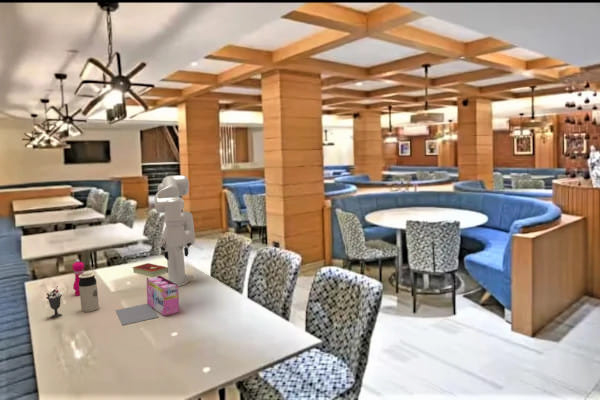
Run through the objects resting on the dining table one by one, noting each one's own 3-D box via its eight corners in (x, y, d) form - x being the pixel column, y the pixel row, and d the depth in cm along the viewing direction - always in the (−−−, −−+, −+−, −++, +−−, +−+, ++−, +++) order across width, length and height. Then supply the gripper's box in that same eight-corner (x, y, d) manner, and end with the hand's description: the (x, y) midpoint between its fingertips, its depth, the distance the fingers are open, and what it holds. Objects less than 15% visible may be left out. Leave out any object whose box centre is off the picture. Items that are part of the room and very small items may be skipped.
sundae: (67, 314, 216) (64, 284, 214) (56, 319, 210) (52, 289, 208) (57, 313, 218) (54, 283, 216) (45, 318, 212) (42, 288, 210)
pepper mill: (77, 292, 249) (73, 258, 247) (90, 291, 250) (86, 257, 247) (71, 296, 242) (68, 261, 240) (85, 295, 243) (81, 260, 240)
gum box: (145, 303, 226) (144, 277, 225) (160, 300, 231) (159, 274, 230) (164, 316, 208) (163, 288, 206) (179, 312, 213) (178, 285, 211)
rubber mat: (148, 303, 226) (148, 303, 226) (158, 317, 207) (158, 316, 207) (115, 310, 218) (115, 310, 218) (122, 325, 199) (122, 324, 199)
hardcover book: (148, 268, 295) (148, 262, 295) (168, 273, 283) (167, 266, 282) (132, 273, 286) (132, 266, 285) (152, 277, 273) (151, 271, 273)
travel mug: (78, 311, 219) (74, 276, 217) (90, 305, 226) (87, 272, 224) (90, 313, 216) (86, 277, 214) (102, 307, 224) (99, 273, 221)
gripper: (189, 220, 226) (191, 253, 228) (154, 225, 217) (157, 258, 219) (193, 222, 219) (195, 256, 221) (158, 227, 211) (160, 261, 213)
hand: (176, 257), depth 220 cm, fingers open, 9 cm apart
